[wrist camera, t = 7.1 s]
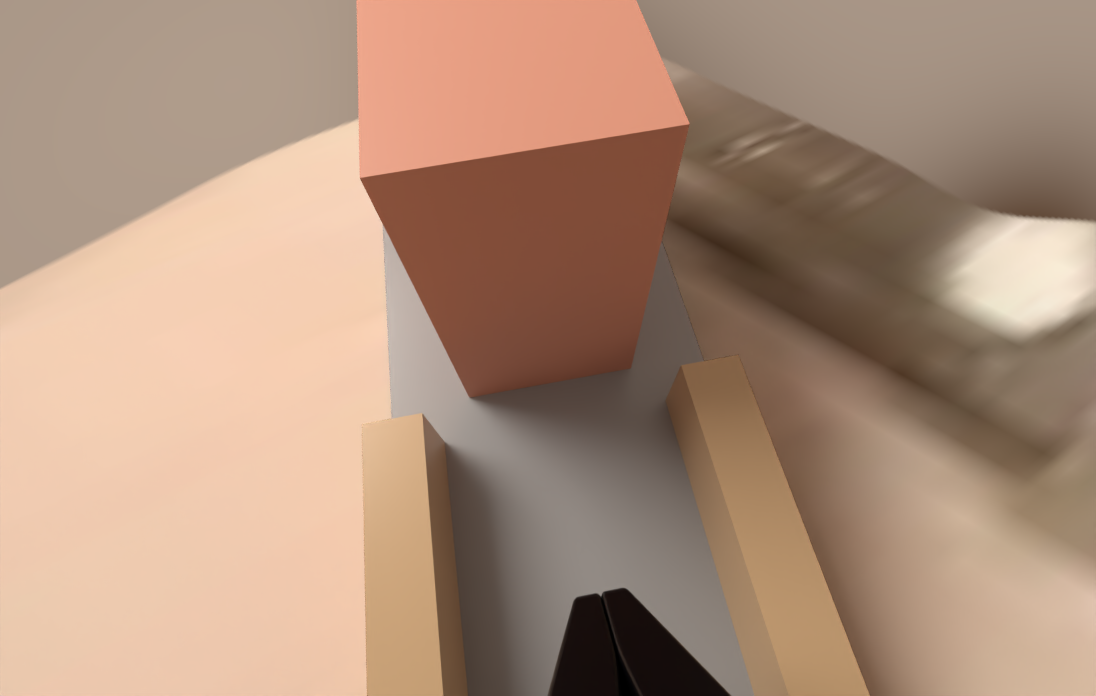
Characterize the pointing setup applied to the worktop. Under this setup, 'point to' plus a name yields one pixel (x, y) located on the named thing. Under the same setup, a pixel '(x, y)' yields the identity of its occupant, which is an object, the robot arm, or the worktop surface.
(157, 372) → the worktop surface
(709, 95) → the worktop surface
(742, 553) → the chute
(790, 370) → the worktop surface
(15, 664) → the worktop surface
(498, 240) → the block
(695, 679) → the robot arm
